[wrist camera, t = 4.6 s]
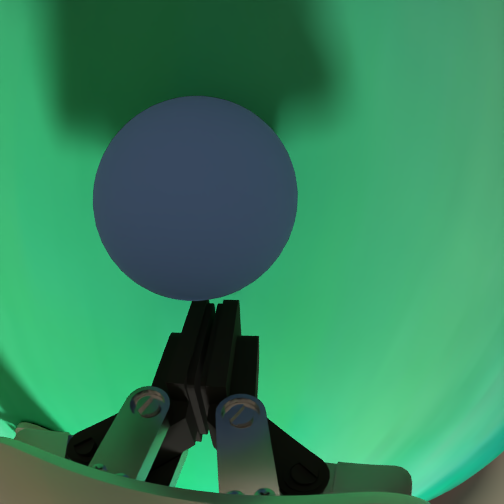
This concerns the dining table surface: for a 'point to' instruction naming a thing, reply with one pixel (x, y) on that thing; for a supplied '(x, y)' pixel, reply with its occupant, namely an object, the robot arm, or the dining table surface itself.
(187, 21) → the dining table surface
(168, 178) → the ball
